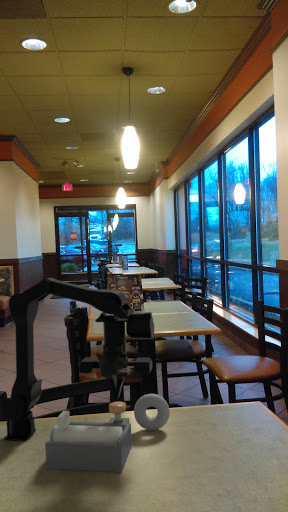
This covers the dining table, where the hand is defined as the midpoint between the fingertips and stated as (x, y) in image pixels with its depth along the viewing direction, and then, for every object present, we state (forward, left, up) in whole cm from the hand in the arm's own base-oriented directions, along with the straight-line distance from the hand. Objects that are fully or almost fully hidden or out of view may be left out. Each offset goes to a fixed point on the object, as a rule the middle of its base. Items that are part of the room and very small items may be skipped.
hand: (116, 397), depth 109 cm
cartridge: (-6, -9, -10) cm, 15 cm away
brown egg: (0, 0, -7) cm, 7 cm away
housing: (-5, -6, -11) cm, 14 cm away
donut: (+8, +7, -12) cm, 16 cm away
